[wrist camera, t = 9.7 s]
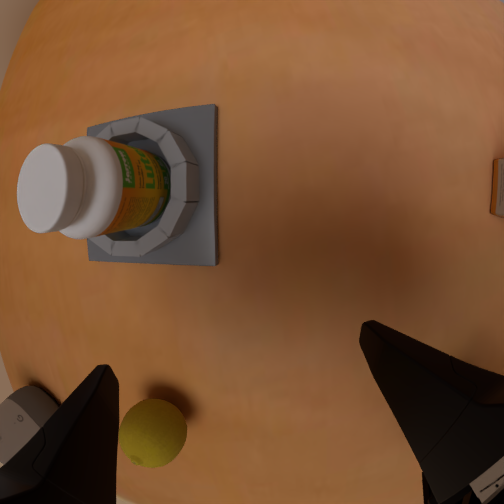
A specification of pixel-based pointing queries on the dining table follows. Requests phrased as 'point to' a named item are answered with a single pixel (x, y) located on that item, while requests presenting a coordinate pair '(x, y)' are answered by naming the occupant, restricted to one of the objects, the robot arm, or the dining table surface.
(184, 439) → the lemon
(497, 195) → the supplement box
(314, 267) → the dining table surface
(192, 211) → the holder
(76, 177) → the supplement bottle
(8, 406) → the smart speaker
